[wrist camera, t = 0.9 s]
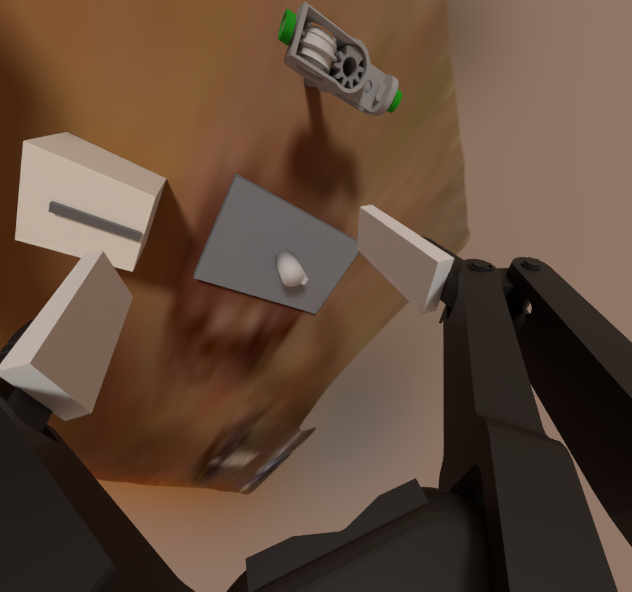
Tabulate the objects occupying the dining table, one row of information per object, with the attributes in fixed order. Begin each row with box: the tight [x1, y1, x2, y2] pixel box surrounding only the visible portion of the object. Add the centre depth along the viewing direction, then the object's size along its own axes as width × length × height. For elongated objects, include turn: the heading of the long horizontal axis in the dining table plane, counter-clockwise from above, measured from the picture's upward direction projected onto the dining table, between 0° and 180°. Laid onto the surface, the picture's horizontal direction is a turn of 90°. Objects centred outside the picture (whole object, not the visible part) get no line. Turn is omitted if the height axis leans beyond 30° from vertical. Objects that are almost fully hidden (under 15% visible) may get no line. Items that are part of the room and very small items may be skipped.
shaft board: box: [194, 173, 359, 314], centre depth 34 cm, size 20×14×6 cm
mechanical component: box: [278, 2, 402, 115], centre depth 22 cm, size 3×10×10 cm, turn 68°
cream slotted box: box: [15, 132, 166, 272], centre depth 24 cm, size 8×8×7 cm
